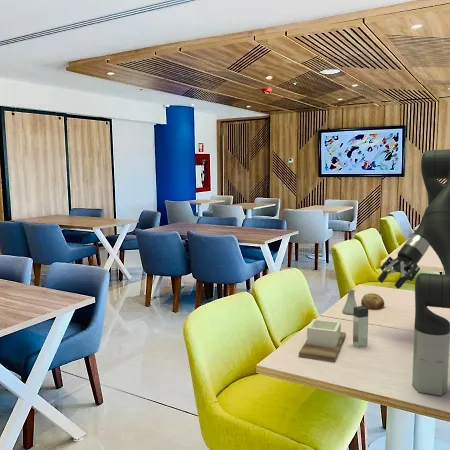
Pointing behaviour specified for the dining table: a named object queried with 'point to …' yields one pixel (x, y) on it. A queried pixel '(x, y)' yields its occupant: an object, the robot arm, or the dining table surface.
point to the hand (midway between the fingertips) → (387, 284)
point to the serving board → (322, 351)
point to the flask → (350, 303)
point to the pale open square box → (324, 333)
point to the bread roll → (372, 301)
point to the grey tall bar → (360, 326)
